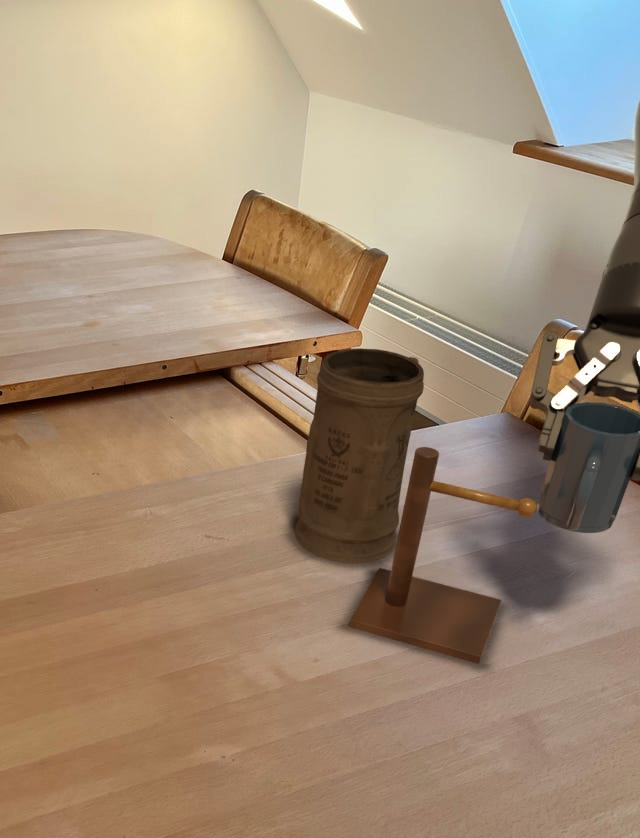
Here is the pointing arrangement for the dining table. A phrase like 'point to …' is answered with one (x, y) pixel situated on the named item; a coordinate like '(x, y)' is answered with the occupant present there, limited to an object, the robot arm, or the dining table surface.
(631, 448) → the mug
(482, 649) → the mug stand
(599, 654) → the dining table surface
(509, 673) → the dining table surface
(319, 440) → the beer stein
